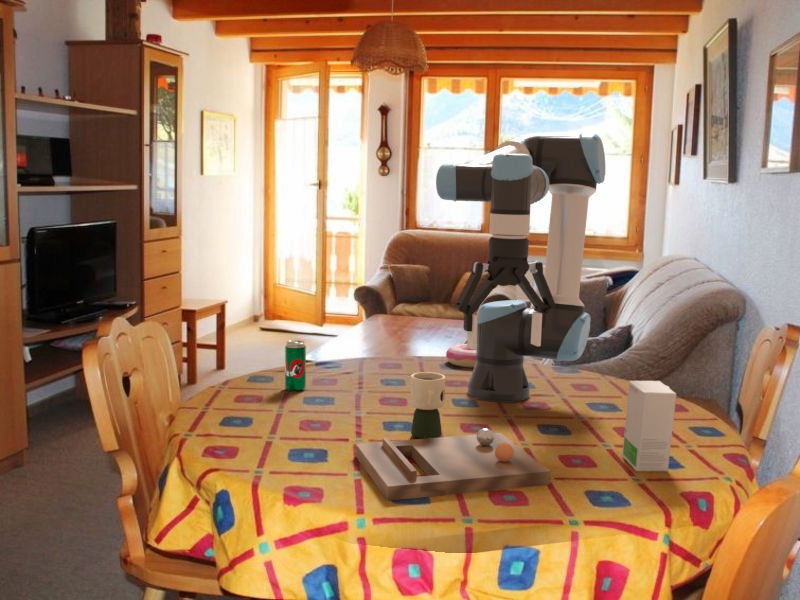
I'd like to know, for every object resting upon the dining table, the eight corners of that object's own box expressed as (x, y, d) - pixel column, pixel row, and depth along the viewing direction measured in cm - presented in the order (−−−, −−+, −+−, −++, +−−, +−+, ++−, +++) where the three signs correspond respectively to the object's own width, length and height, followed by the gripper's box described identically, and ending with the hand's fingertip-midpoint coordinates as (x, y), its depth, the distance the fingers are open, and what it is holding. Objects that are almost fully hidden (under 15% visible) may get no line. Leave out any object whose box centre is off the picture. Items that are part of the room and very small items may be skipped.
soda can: (309, 388, 208) (310, 341, 206) (296, 393, 204) (296, 345, 202) (294, 385, 211) (294, 338, 209) (280, 389, 206) (280, 342, 204)
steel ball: (489, 441, 163) (490, 425, 163) (496, 447, 160) (497, 430, 160) (473, 443, 162) (474, 426, 162) (480, 449, 159) (480, 431, 159)
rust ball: (508, 457, 155) (509, 439, 154) (516, 463, 152) (517, 445, 151) (491, 459, 154) (492, 441, 153) (499, 465, 151) (500, 447, 150)
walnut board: (499, 444, 170) (500, 425, 169) (549, 484, 149) (550, 463, 148) (355, 456, 161) (356, 436, 160) (387, 500, 140) (388, 477, 139)
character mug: (447, 445, 168) (449, 382, 166) (412, 445, 168) (414, 383, 165) (438, 428, 179) (440, 369, 177) (405, 428, 178) (407, 369, 176)
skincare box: (621, 456, 164) (626, 379, 162) (654, 456, 165) (660, 379, 162) (637, 472, 156) (642, 391, 153) (671, 472, 156) (677, 391, 154)
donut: (443, 368, 233) (443, 350, 232) (448, 357, 246) (449, 340, 245) (491, 371, 231) (492, 353, 230) (494, 360, 244) (495, 343, 243)
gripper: (557, 234, 166) (552, 339, 169) (440, 234, 158) (436, 345, 161) (577, 238, 158) (570, 347, 162) (455, 238, 151) (451, 353, 154)
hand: (503, 346), depth 161 cm, fingers open, 13 cm apart
